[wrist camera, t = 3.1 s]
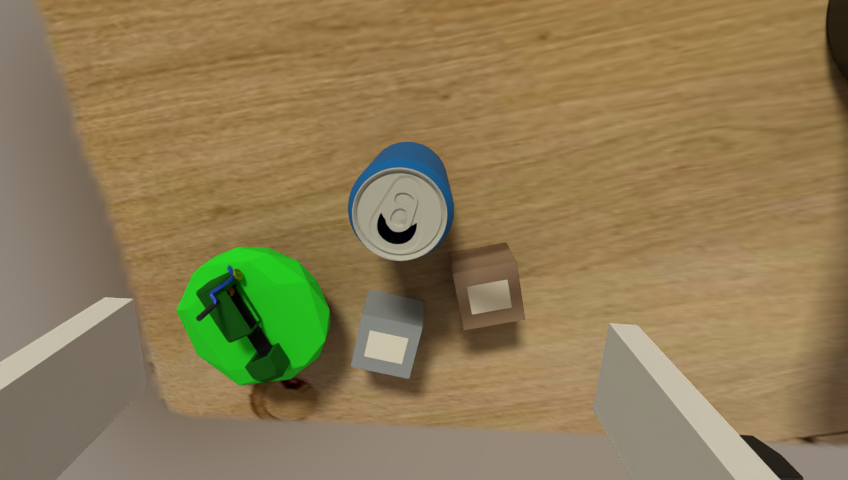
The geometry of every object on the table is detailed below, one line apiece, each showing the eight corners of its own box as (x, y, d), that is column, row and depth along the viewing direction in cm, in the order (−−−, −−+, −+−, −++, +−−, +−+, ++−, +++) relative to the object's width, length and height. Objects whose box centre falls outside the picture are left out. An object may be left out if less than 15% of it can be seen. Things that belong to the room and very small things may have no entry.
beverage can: (361, 205, 39) (333, 251, 27) (380, 131, 37) (359, 146, 25) (434, 226, 39) (436, 279, 28) (456, 153, 37) (469, 178, 26)
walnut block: (449, 252, 40) (452, 274, 35) (505, 242, 40) (516, 262, 35) (459, 303, 41) (463, 331, 37) (514, 293, 41) (525, 320, 36)
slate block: (369, 288, 41) (361, 314, 36) (423, 300, 41) (422, 327, 37) (359, 336, 43) (350, 367, 38) (411, 347, 43) (409, 379, 38)
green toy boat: (186, 264, 41) (98, 322, 30) (299, 211, 39) (247, 253, 28) (256, 370, 44) (198, 457, 33) (363, 326, 42) (338, 401, 31)
